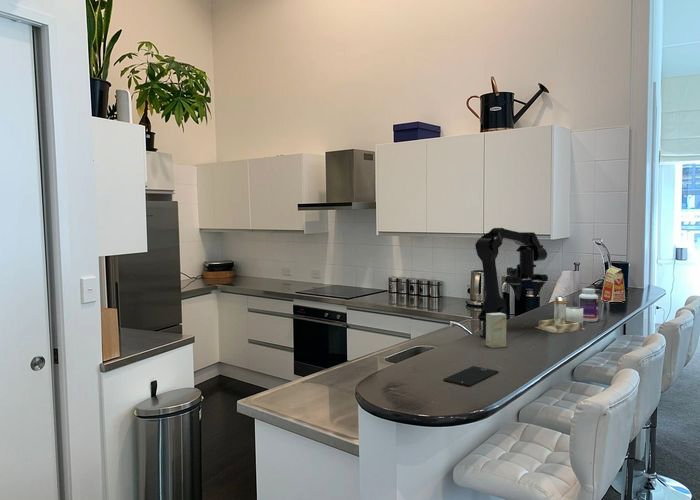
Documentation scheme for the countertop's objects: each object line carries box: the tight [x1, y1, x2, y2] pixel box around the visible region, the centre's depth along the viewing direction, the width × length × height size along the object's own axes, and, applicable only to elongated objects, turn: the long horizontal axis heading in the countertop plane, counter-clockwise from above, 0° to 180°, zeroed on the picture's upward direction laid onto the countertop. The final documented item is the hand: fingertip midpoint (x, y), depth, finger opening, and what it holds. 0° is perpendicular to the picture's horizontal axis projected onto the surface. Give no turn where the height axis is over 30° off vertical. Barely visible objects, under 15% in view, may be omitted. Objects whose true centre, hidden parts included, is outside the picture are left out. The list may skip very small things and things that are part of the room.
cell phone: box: [442, 365, 499, 388], centre depth 155 cm, size 9×18×1 cm, turn 137°
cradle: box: [534, 318, 585, 334], centre depth 219 cm, size 16×11×3 cm
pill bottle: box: [578, 287, 599, 323], centre depth 235 cm, size 8×8×14 cm
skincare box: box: [485, 313, 507, 349], centre depth 191 cm, size 6×4×12 cm
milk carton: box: [600, 265, 626, 303], centre depth 285 cm, size 9×9×20 cm
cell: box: [553, 295, 567, 328], centre depth 218 cm, size 5×5×14 cm
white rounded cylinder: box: [566, 306, 584, 326], centre depth 229 cm, size 7×7×7 cm
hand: (526, 299), depth 218 cm, fingers open, 9 cm apart
